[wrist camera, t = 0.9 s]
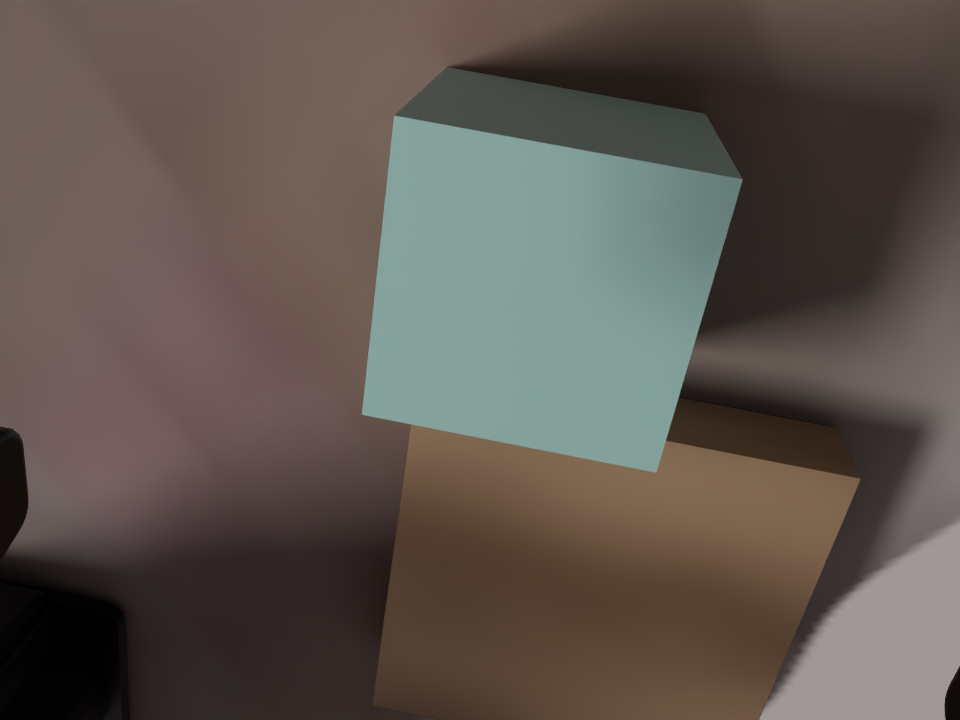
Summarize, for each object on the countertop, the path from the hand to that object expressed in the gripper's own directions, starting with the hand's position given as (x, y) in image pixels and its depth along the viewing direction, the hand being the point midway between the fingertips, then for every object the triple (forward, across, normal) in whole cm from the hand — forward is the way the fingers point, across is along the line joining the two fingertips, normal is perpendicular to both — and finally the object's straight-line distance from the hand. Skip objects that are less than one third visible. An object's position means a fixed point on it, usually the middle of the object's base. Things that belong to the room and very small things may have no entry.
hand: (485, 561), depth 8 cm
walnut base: (+11, -3, +8) cm, 14 cm away
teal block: (+11, 0, 0) cm, 11 cm away
